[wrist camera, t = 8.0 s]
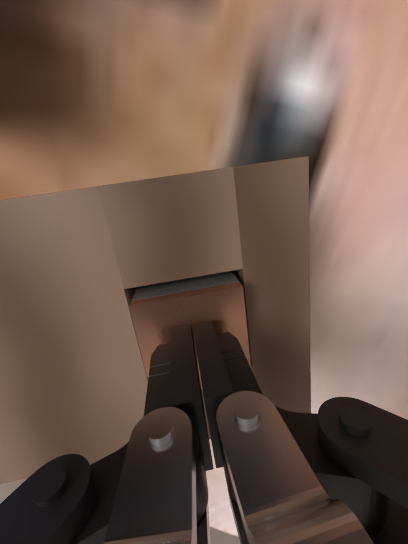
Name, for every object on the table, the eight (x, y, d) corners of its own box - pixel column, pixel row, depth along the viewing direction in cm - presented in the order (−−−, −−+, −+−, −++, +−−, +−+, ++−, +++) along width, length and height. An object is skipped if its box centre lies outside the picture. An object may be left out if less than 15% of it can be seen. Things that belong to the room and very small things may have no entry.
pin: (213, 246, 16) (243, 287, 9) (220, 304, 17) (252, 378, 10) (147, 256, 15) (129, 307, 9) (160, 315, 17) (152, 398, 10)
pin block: (246, 172, 17) (308, 156, 9) (259, 332, 20) (310, 417, 13) (-118, 224, 15) (-412, 259, 7) (-31, 387, 19) (-168, 519, 11)
